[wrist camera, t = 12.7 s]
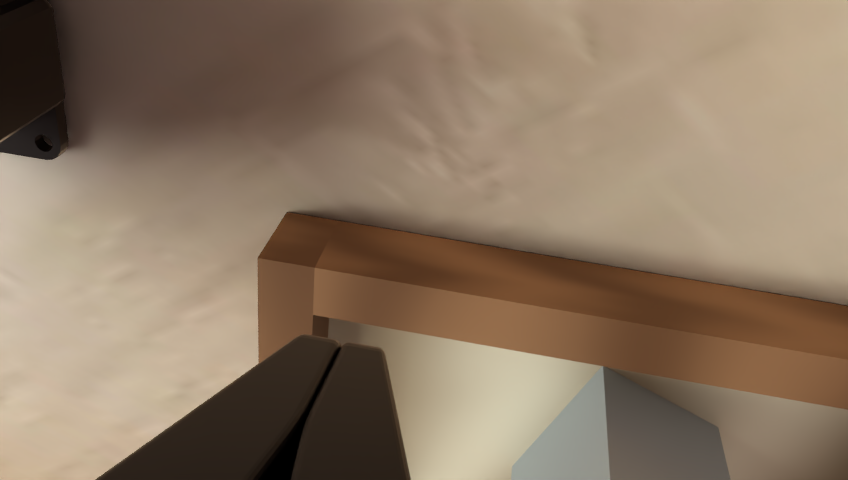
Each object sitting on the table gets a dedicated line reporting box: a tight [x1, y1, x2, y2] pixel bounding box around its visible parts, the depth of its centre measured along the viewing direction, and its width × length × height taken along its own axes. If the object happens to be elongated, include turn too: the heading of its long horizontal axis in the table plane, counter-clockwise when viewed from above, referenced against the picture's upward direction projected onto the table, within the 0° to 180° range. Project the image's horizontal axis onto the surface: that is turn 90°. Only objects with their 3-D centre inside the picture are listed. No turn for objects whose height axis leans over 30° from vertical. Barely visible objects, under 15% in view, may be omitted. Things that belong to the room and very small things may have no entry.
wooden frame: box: [258, 212, 848, 480], centre depth 24 cm, size 19×12×2 cm, turn 84°
